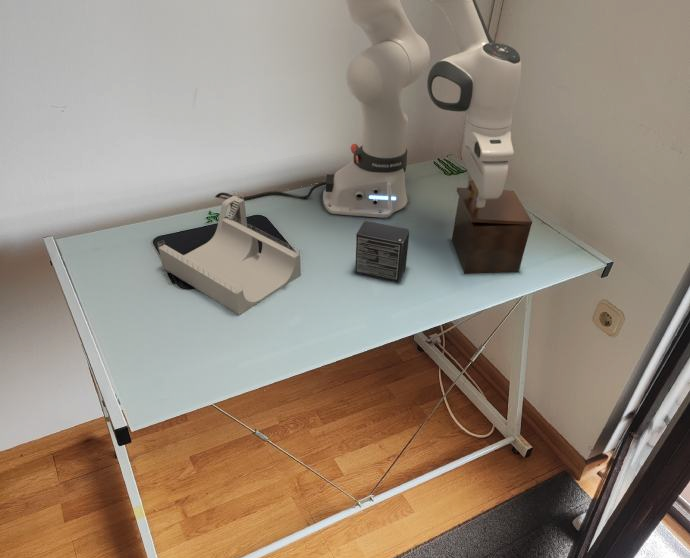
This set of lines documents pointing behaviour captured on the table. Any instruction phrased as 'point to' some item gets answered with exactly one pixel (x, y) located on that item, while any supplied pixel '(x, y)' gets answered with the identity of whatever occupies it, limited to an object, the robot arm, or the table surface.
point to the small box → (381, 251)
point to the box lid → (494, 208)
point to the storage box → (488, 245)
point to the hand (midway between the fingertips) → (475, 197)
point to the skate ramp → (235, 262)
